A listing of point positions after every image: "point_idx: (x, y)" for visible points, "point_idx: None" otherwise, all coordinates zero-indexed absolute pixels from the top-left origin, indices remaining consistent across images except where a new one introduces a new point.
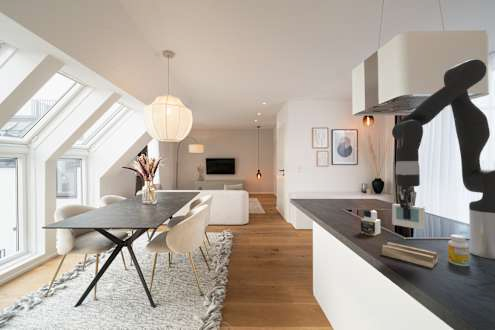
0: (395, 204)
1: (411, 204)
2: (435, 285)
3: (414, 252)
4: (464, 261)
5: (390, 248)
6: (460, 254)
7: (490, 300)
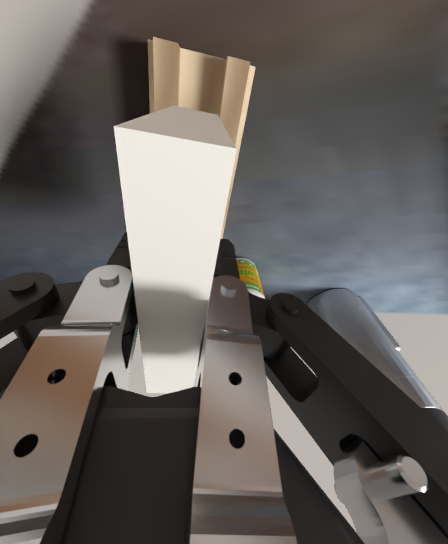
0: (147, 192)
1: (199, 354)
2: (40, 240)
3: None
4: None
5: (154, 94)
6: None
7: None
